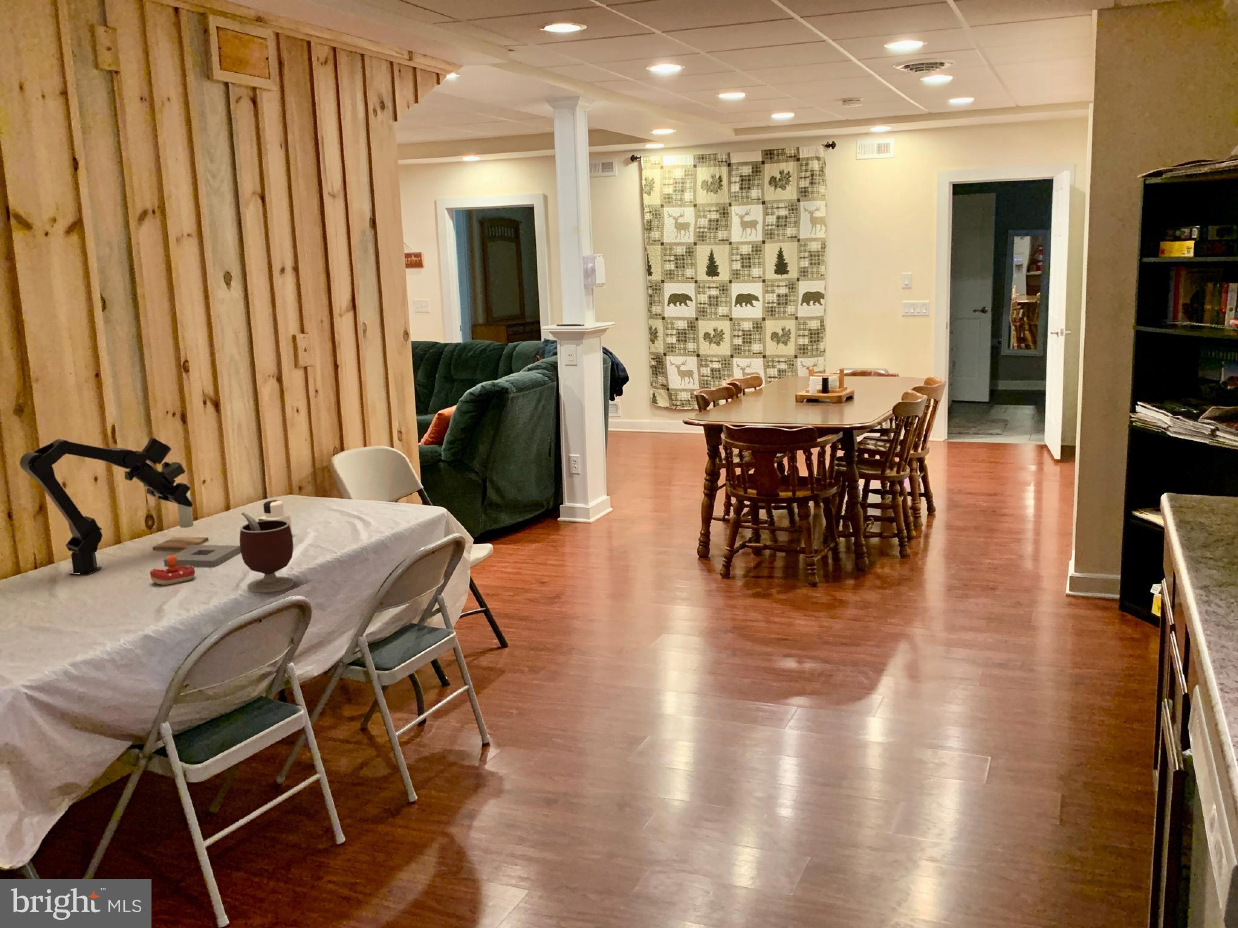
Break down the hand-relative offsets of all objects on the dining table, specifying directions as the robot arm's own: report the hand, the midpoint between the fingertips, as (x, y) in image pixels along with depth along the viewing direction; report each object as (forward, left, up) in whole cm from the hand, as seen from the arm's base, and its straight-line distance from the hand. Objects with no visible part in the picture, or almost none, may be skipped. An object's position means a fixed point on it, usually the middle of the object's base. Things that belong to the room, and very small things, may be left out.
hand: (188, 504), depth 337 cm
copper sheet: (+1, +5, -13) cm, 14 cm away
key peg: (-1, +1, -7) cm, 7 cm away
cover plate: (-13, -11, -13) cm, 22 cm away
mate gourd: (-36, -44, -14) cm, 59 cm away
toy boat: (-35, -14, -14) cm, 40 cm away
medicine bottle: (+12, -22, -14) cm, 29 cm away
